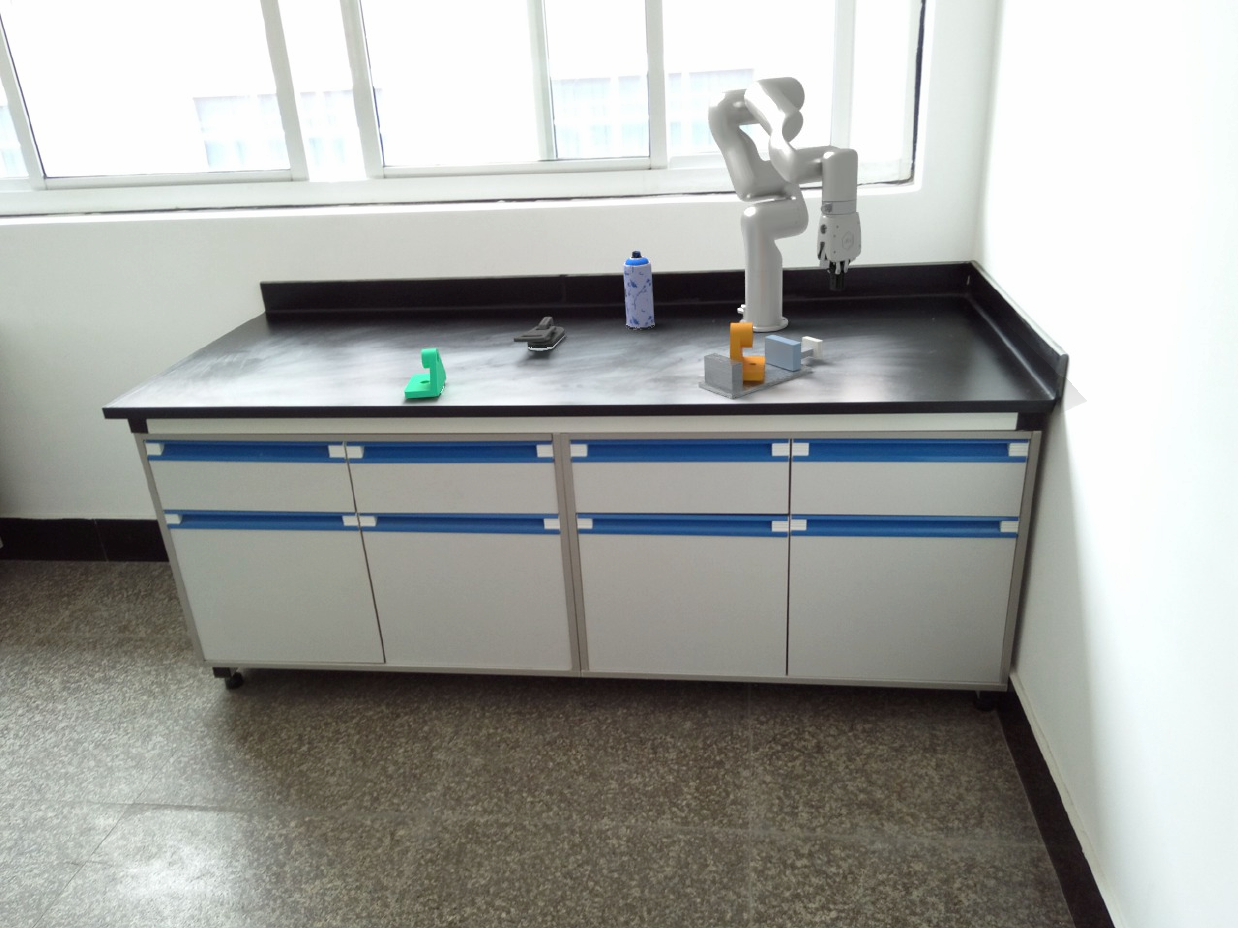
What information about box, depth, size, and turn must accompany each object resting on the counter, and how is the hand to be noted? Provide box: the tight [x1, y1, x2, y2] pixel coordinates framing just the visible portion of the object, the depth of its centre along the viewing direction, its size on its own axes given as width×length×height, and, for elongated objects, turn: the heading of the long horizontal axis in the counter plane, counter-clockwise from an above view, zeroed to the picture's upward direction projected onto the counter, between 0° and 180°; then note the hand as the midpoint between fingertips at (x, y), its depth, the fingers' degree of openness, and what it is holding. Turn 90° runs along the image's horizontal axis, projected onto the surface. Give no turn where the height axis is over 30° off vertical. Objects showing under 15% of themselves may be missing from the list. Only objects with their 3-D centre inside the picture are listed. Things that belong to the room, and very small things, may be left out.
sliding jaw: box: [764, 334, 824, 371], centre depth 207 cm, size 9×12×6 cm
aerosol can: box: [622, 250, 656, 328], centre depth 243 cm, size 8×8×20 cm
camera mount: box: [403, 348, 447, 399], centre depth 207 cm, size 12×8×10 cm, turn 1°
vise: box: [698, 352, 813, 399], centre depth 201 cm, size 11×24×7 cm, turn 125°
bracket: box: [729, 322, 765, 380], centre depth 199 cm, size 11×7×12 cm, turn 169°
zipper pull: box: [513, 316, 566, 348], centre depth 233 cm, size 9×7×25 cm
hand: (837, 289), depth 208 cm, fingers closed
